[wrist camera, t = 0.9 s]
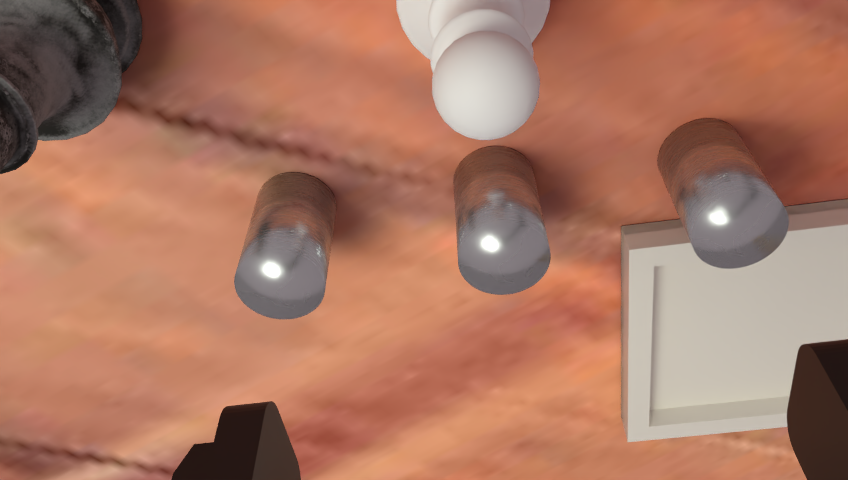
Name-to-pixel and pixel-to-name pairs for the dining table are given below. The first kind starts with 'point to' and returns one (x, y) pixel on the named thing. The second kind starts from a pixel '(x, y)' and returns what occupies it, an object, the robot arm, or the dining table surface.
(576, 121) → the dining table surface
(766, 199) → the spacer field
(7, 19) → the grey chess piece
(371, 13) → the dining table surface
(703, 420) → the square tray
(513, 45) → the chess pawn
